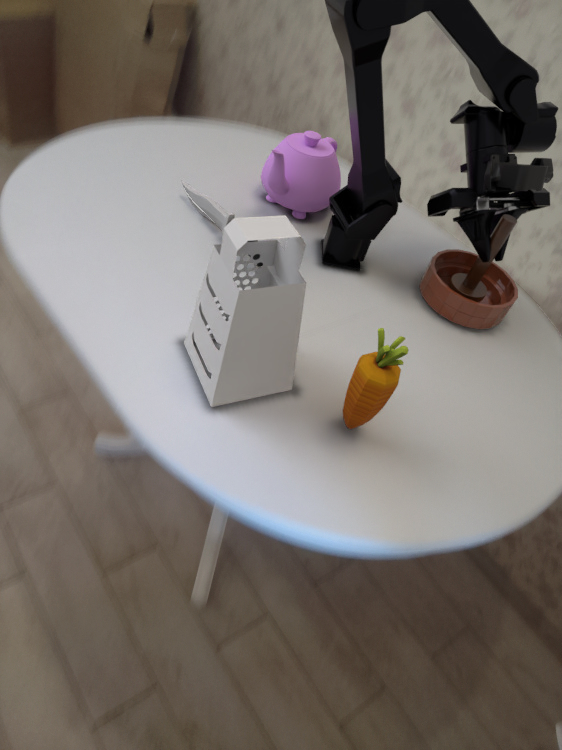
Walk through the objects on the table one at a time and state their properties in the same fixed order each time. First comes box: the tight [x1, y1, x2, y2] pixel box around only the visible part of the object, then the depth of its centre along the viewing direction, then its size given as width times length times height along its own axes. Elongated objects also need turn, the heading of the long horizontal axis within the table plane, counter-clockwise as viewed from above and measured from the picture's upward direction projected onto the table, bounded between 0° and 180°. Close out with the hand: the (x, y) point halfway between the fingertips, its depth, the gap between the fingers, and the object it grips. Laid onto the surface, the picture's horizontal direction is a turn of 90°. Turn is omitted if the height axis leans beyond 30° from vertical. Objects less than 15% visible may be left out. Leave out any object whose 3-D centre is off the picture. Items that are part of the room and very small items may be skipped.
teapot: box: [260, 130, 342, 220], centre depth 88 cm, size 20×14×12 cm
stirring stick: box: [449, 214, 518, 302], centre depth 77 cm, size 6×6×13 cm
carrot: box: [342, 327, 409, 430], centre depth 56 cm, size 5×5×15 cm
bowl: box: [419, 248, 519, 330], centre depth 82 cm, size 14×14×5 cm
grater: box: [183, 214, 307, 408], centre depth 57 cm, size 10×10×20 cm
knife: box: [181, 180, 263, 268], centre depth 80 cm, size 25×2×5 cm, turn 37°
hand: (492, 261), depth 76 cm, fingers closed on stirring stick, 2 cm apart
